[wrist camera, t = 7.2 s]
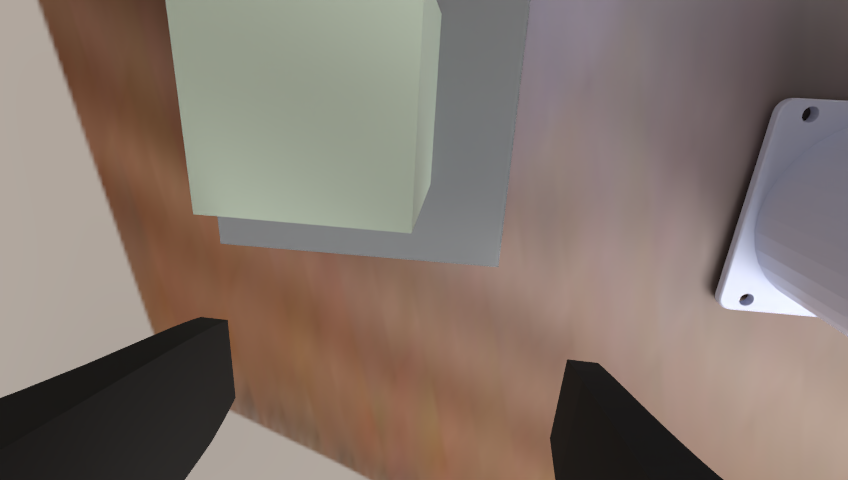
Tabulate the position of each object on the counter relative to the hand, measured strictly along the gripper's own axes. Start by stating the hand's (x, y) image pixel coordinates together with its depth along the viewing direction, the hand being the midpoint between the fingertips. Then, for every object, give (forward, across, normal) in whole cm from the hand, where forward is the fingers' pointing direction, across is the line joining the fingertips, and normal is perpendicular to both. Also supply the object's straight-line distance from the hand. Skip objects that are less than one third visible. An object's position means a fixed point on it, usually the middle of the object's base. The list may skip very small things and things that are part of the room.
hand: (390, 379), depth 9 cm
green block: (+6, +2, -5) cm, 9 cm away
